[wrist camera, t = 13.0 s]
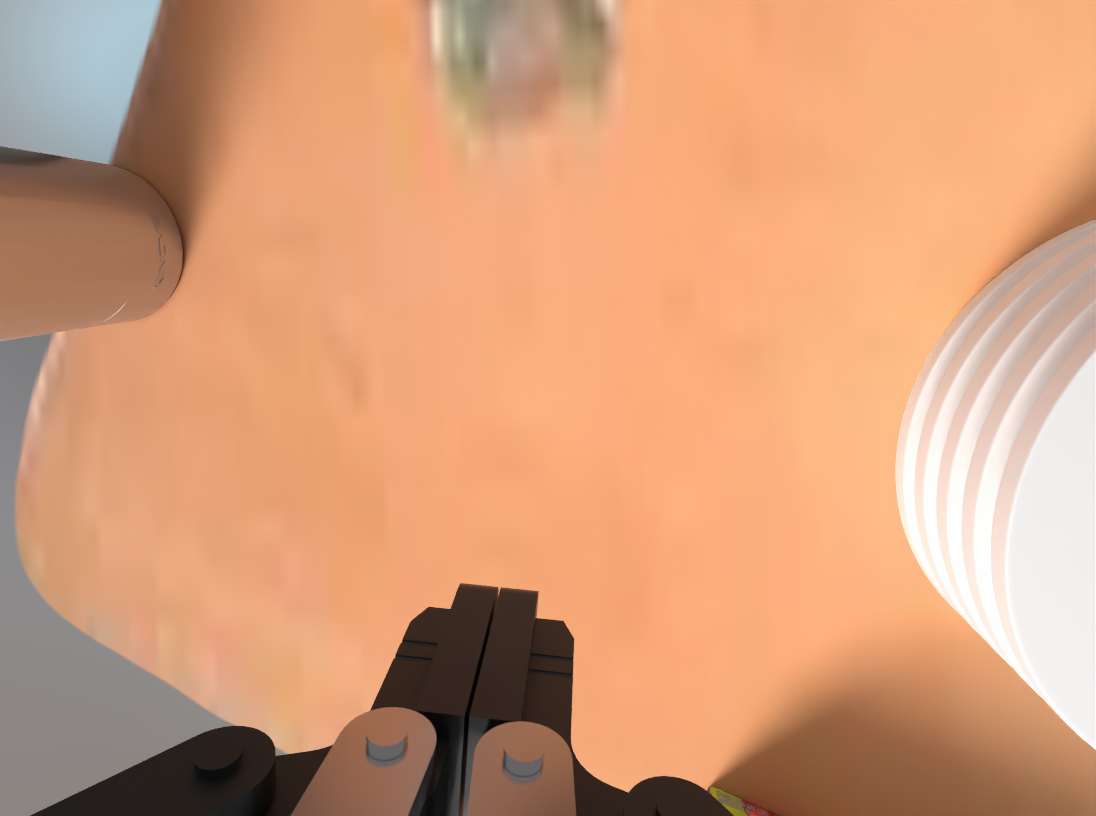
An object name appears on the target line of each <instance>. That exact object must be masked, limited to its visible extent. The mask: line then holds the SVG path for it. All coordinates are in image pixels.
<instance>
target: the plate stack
mask: <svg viewBox="0 0 1096 816" xmlns="http://www.w3.org/2000/svg"><path fill="white" fill-rule="evenodd" d="M896 492H897V500H898V506H899V512H900V516H901V520H902V524H903V527H904V531H905V534H906V537H907V539H908V542H909V544H910V547H911V549H912V551H913V553H914V555H915V557H916V559H917V561H918V563H919V565H920V567H921V568H922V570H923V572H924V573H925V575H926V576H927V578H928V579H929V580H930V582H931V583H932V585H933V586H934V587H935V588H936V590H937V591H938V592H939V593H940V594H941V596H942V597H943V598H944V599H945V600H946V601H947V602H948V603H949V604H950V605H951V606H952V607H953V608H954V609H955V610H956V611H957V612H958V613H959V614H960V615H961V616H962V617H963V618H964V619H965V620H966V621H967V622H968V623H969V624H970V626H971V627H972V628H973V629H974V630H975V631H976V632H977V633H978V634H979V635H980V636H981V637H982V638H984V639H985V640H986V641H987V642H988V644H989V645H990V646H991V647H992V648H993V649H994V650H995V651H996V652H997V653H998V654H999V655H1000V656H1001V657H1002V658H1003V659H1004V660H1005V661H1006V662H1007V663H1008V664H1009V665H1010V666H1011V667H1012V668H1013V669H1014V670H1015V671H1016V672H1017V673H1018V674H1019V675H1020V676H1021V678H1022V679H1023V680H1024V681H1025V682H1026V683H1027V684H1028V685H1029V686H1030V687H1031V688H1032V689H1033V690H1034V691H1035V692H1036V693H1037V694H1038V695H1039V696H1040V697H1041V698H1042V699H1043V700H1045V702H1046V703H1047V704H1048V705H1049V706H1050V707H1051V708H1052V709H1053V710H1054V711H1055V712H1056V713H1057V714H1058V715H1059V716H1060V717H1061V719H1062V720H1063V721H1064V722H1065V723H1066V724H1067V725H1068V726H1069V727H1070V728H1071V729H1073V730H1074V731H1075V732H1076V733H1077V734H1078V735H1079V736H1080V737H1081V738H1082V739H1083V740H1085V741H1086V742H1087V743H1088V744H1089V745H1090V746H1092V747H1093V748H1094V749H1096V219H1094V220H1091V221H1089V222H1086V223H1084V224H1082V225H1079V226H1077V227H1075V228H1072V229H1070V230H1068V231H1066V232H1064V233H1062V234H1060V235H1058V236H1056V237H1054V238H1052V239H1050V240H1049V241H1047V242H1045V243H1043V244H1042V245H1040V246H1038V247H1037V248H1035V249H1033V250H1032V251H1030V252H1029V253H1027V254H1026V255H1024V256H1023V257H1021V258H1020V259H1018V260H1017V261H1015V262H1014V263H1013V264H1011V265H1010V266H1009V267H1008V268H1006V269H1005V270H1004V271H1002V272H1001V273H1000V274H999V275H997V276H996V277H995V278H994V279H993V280H992V281H990V282H989V283H988V284H987V285H986V286H985V287H984V288H983V289H982V290H981V291H980V292H979V293H978V294H977V295H976V296H975V297H973V299H972V300H971V301H970V302H969V303H968V304H967V305H966V306H965V307H964V308H963V309H962V311H961V312H960V313H959V314H958V315H957V316H956V317H955V319H954V320H953V321H952V323H951V324H950V325H949V326H948V328H947V329H946V330H945V332H944V333H943V335H942V336H941V337H940V339H939V340H938V342H937V343H936V345H935V347H934V348H933V350H932V351H931V353H930V355H929V356H928V358H927V360H926V362H925V364H924V366H923V367H922V369H921V371H920V373H919V376H918V378H917V380H916V382H915V384H914V387H913V389H912V392H911V394H910V397H909V400H908V403H907V406H906V409H905V412H904V416H903V420H902V424H901V428H900V433H899V438H898V445H897V454H896Z"/></svg>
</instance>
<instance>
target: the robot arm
mask: <svg viewBox="0 0 1096 816" xmlns="http://www.w3.org/2000/svg"><path fill="white" fill-rule="evenodd" d="M182 259H183V249H182V242H181V235H180V232H179V229H178V226H177V223H176V220H175V218H174V216H173V214H172V212H171V211H170V209H169V207H168V205H167V203H166V202H165V201H164V200H163V198H162V197H161V196H160V195H159V194H158V192H157V191H156V190H155V189H154V188H153V187H152V186H150V185H149V184H148V183H147V182H146V181H144V180H143V179H142V178H140V177H139V176H137V175H135V174H133V173H131V172H130V171H128V170H125V169H122V168H119V167H116V166H112V165H107V164H101V163H95V162H90V161H83V160H77V159H72V158H66V157H61V156H55V155H49V154H43V153H38V152H31V151H26V150H20V149H14V148H8V147H1V146H0V341H4V340H10V339H17V338H23V337H29V336H36V335H42V334H49V333H55V332H61V331H68V330H74V329H82V328H88V327H95V326H101V325H107V324H113V323H120V322H126V321H132V320H137V319H140V318H142V317H145V316H148V315H150V314H151V313H153V312H154V311H156V310H157V309H159V308H160V307H161V306H162V305H163V304H164V303H165V302H166V301H167V300H168V299H169V298H170V296H171V295H172V293H173V291H174V289H175V287H176V285H177V284H178V280H179V277H180V273H181V270H182ZM498 592H499V591H498V587H491V586H482V585H472V584H463V583H461V584H460V585H459V587H458V590H457V593H456V596H455V598H454V601H453V604H452V607H451V609H444V608H434V607H428V608H427V609H426V610H424V611H423V612H422V613H421V614H419V615H418V616H417V617H416V618H414V619H413V620H412V621H411V622H410V624H409V626H408V629H407V631H406V633H405V635H404V637H403V640H402V643H401V644H400V646H399V648H398V651H397V653H396V656H395V659H393V662H392V664H391V666H390V668H389V670H388V673H387V675H386V677H385V679H384V681H383V684H382V686H381V688H380V690H379V692H378V695H377V697H376V699H375V701H374V704H373V706H372V708H371V710H370V711H369V712H366V713H363V714H362V715H360V716H358V717H356V718H355V719H353V720H352V721H351V722H349V723H348V724H347V725H346V726H345V727H344V729H343V730H342V731H341V733H340V734H339V736H338V738H337V739H336V741H335V743H334V744H333V745H331V746H329V747H326V748H322V749H319V750H314V751H308V752H301V753H294V754H287V755H281V756H275V746H274V744H273V742H272V740H271V739H270V737H269V736H267V735H266V734H265V733H264V732H262V731H260V730H258V729H254V728H251V727H245V726H229V727H222V728H217V729H213V730H210V731H207V732H204V733H202V734H200V735H197V736H195V737H193V738H191V739H189V740H187V741H185V742H183V743H181V744H178V745H177V746H174V747H172V748H170V749H168V750H166V751H164V752H162V753H160V754H158V755H156V756H153V757H151V758H149V759H147V760H145V761H143V762H141V763H139V764H137V765H135V766H133V767H131V768H129V769H126V770H124V771H122V772H120V773H118V774H116V775H114V776H112V777H110V778H108V779H106V780H104V781H101V782H99V783H97V784H96V785H93V786H91V787H89V788H87V789H85V790H83V791H81V792H79V793H77V794H74V795H72V796H70V797H68V798H66V799H64V800H62V801H60V802H58V803H56V804H54V805H52V806H49V807H47V808H46V809H43V810H41V811H39V812H37V813H35V814H33V815H31V816H734V815H733V814H732V813H731V812H730V811H729V810H728V809H727V808H725V807H724V806H723V805H722V804H721V803H720V802H719V801H718V800H717V799H716V798H715V797H714V796H712V795H711V794H710V793H709V792H708V791H706V790H705V789H703V788H702V787H700V786H698V785H696V784H694V783H692V782H690V781H687V780H684V779H681V778H676V777H668V776H660V777H653V778H648V779H646V780H643V781H641V782H640V783H638V784H637V785H635V786H634V787H633V788H632V789H631V790H630V792H629V793H628V792H625V791H623V790H620V789H618V788H615V787H613V786H610V785H608V784H606V783H604V782H602V781H600V780H599V779H597V778H595V777H594V776H593V775H591V774H590V773H589V772H588V771H586V769H585V768H584V767H583V766H582V765H581V764H580V763H579V761H578V760H577V758H576V756H575V754H574V752H573V749H572V746H571V713H572V684H573V654H574V638H573V636H572V635H571V633H570V631H569V630H568V628H567V626H566V625H565V623H564V621H558V620H548V619H539V618H536V616H537V605H538V591H530V590H521V589H511V588H502V587H501V589H500V593H499V597H498Z"/></svg>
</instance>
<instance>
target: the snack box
mask: <svg viewBox="0 0 1096 816" xmlns="http://www.w3.org/2000/svg"><path fill="white" fill-rule="evenodd" d="M708 792H709V793H710V794H711V795H712V796H714V797H715V798H716V799H717V800H718V801H719V802H720V803H721V804H722V805H723V806H724V807H725V808H727V809H728V810H729V811H730V812H731V813H732V814H733V815H734V816H779V815H777V814H774V813H772V812H770V811H768V810H765V809H763V808H760V807H758V806H756V805H754V804H751V803H749V802H747V801H745V800H742V799H740V798H737V797H735V796H733V795H731V794H729V793H727V792H724V791H722V790H720V789H717V788H715V787H710V788H709V789H708Z"/></svg>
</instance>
